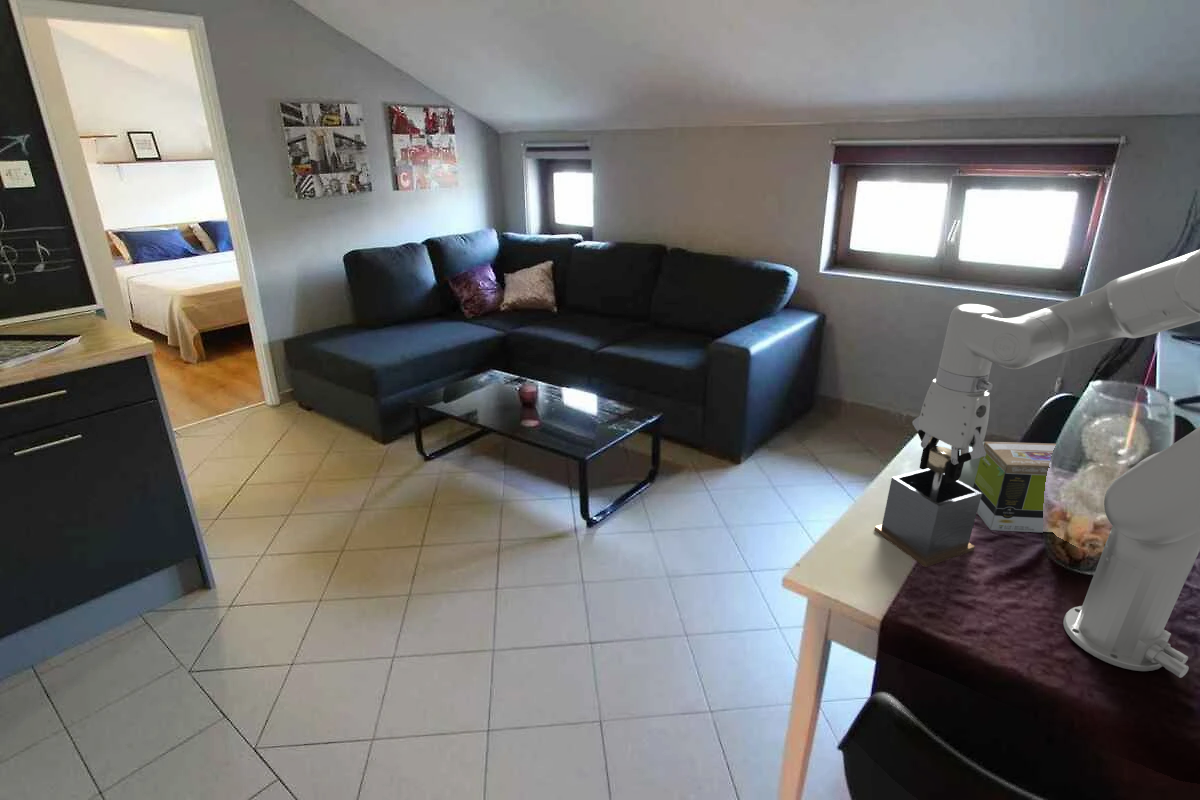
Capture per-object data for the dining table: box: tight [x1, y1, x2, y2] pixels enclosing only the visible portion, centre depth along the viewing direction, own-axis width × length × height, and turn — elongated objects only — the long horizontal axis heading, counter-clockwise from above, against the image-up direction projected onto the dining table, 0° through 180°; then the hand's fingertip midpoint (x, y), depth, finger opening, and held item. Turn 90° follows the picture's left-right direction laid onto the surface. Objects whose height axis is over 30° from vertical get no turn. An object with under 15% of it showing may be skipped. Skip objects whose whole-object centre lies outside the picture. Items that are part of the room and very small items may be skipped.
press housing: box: [873, 468, 982, 568], centre depth 120 cm, size 12×12×12 cm
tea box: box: [973, 441, 1057, 533], centre depth 126 cm, size 15×10×15 cm, turn 84°
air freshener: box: [958, 441, 985, 488], centre depth 137 cm, size 11×8×10 cm
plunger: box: [927, 446, 951, 501], centre depth 118 cm, size 8×8×17 cm
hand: (938, 473), depth 116 cm, fingers closed on plunger, 4 cm apart
